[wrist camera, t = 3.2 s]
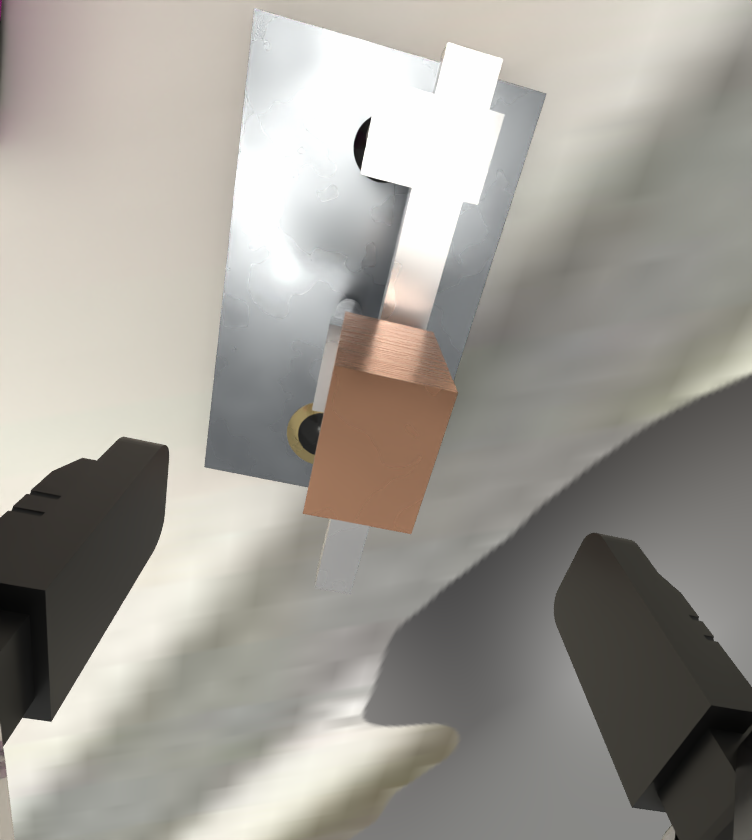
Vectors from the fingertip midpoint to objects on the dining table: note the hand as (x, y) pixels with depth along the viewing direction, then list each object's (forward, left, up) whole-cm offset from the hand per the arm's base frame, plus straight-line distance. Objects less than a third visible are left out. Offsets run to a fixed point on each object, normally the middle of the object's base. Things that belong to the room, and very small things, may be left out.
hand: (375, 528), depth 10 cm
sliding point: (0, 0, -16) cm, 16 cm away
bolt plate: (0, -1, -18) cm, 18 cm away
